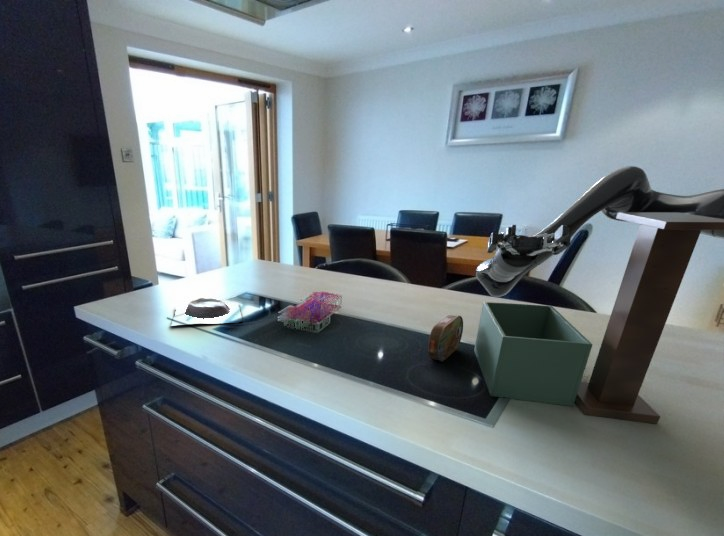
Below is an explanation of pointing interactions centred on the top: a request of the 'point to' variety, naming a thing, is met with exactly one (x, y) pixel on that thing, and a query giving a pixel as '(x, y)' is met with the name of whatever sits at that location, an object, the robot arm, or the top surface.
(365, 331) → the top surface
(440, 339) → the tin
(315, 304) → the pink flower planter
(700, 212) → the robot arm
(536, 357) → the bin
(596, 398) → the stand
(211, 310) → the dark grey round dish
